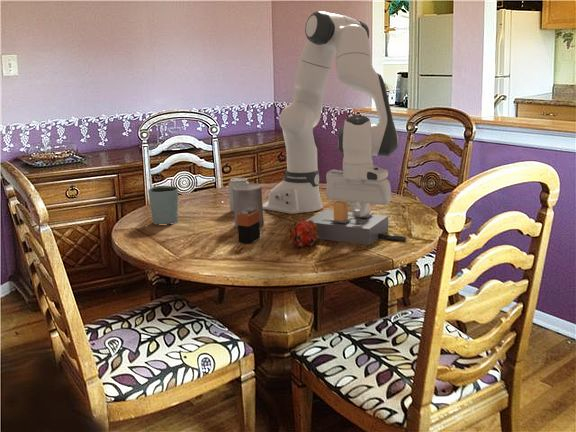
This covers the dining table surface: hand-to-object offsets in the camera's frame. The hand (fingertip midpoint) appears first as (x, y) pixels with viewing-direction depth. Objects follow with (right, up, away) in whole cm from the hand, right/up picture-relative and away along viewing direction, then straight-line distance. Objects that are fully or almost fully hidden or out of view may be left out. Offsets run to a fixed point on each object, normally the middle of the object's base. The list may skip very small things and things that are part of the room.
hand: (357, 215), depth 195 cm
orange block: (-5, -1, +3) cm, 6 cm away
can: (-39, +2, +41) cm, 56 cm away
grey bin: (-64, -2, +29) cm, 70 cm away
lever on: (+2, 0, +8) cm, 8 cm away
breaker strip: (+1, -6, +6) cm, 9 cm away
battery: (-33, -8, +5) cm, 35 cm away
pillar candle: (-34, -4, +21) cm, 40 cm away
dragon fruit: (-16, -9, -2) cm, 19 cm away
